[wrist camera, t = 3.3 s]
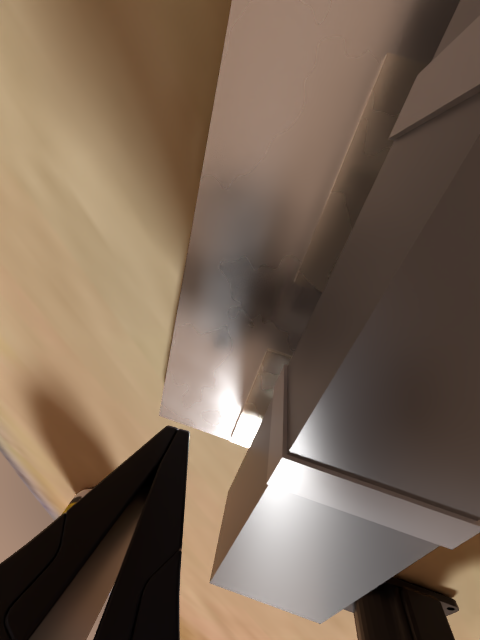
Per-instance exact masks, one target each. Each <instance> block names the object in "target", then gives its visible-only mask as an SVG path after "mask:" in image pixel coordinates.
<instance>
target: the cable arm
mask: <svg viewBox="0 0 480 640" xmlns="http://www.w3.org/2000/svg"><path fill="white" fill-rule="evenodd" d="M388 139H390V140H393V141H394V142H393V144H392V146H391V148H390V150H389V152H388V155H387V157H386V159H385V161H384V163H383V165H382V167H381V169H380V172H379V174H378V176H377V178H376V180H375V182H374V184H373V186H372V188H371V191H370V193H369V195H368V197H367V199H366V201H365V203H364V205H363V208H362V210H361V212H360V214H359V216H358V218H357V220H356V222H355V224H354V227H353V229H352V231H351V233H350V235H349V237H348V239H347V241H346V244H345V246H344V248H343V250H342V252H341V254H340V256H339V258H338V261H337V263H336V265H335V267H334V269H333V271H332V273H331V275H330V277H329V280H328V282H327V284H326V286H325V288H324V290H323V292H322V294H321V297H320V299H319V301H318V303H317V305H316V307H315V309H314V311H313V313H312V316H311V318H310V320H309V322H308V324H307V326H306V328H305V330H304V333H303V335H302V337H301V339H300V341H299V343H298V345H297V347H296V349H295V352H294V354H293V356H292V358H291V360H290V362H289V364H288V365H286V364H284V366H283V368H282V370H281V372H280V374H279V376H278V379H277V381H276V383H275V385H274V391H273V398H272V400H271V402H270V405H269V407H268V409H267V411H266V413H265V415H264V417H263V419H262V421H261V424H260V426H259V428H258V430H257V432H256V434H255V436H254V438H253V441H252V443H251V445H250V447H249V449H248V451H247V453H246V455H245V458H244V460H243V462H242V464H241V466H240V468H239V470H238V472H237V474H236V477H235V479H234V481H233V483H232V485H231V487H230V489H229V491H228V495H227V500H226V505H225V510H224V515H223V520H222V525H221V530H220V534H219V539H218V544H217V549H216V554H215V559H214V564H213V569H212V574H211V579H210V583H211V584H213V585H216V586H219V587H221V588H224V589H227V590H230V591H232V592H235V593H238V594H240V595H243V596H246V597H249V598H251V599H254V600H257V601H259V602H262V603H265V604H268V605H270V606H273V607H276V608H278V609H281V610H284V611H287V612H289V613H292V614H295V615H297V616H300V617H303V618H306V619H308V620H311V621H314V622H316V623H319V624H321V623H323V622H324V621H326V620H327V619H329V618H330V617H332V616H333V615H335V614H336V613H338V612H339V611H341V610H342V609H344V608H346V607H347V606H349V605H350V604H352V603H353V602H355V601H356V600H358V599H359V598H361V597H362V596H364V595H365V594H367V593H368V592H370V591H371V590H373V589H375V588H376V587H378V586H379V585H381V584H382V583H384V582H385V581H387V580H388V579H390V578H391V577H393V576H394V575H396V574H397V573H399V572H400V571H402V570H404V569H405V568H407V567H408V566H410V565H411V564H413V563H414V562H416V561H417V560H419V559H420V558H422V557H423V556H425V555H426V554H428V553H429V552H431V551H433V550H434V549H436V548H437V547H439V546H443V547H446V548H449V549H451V550H452V549H454V548H456V547H457V546H459V545H460V544H462V543H464V542H465V541H467V540H468V539H470V538H472V537H473V536H475V535H476V534H478V533H480V0H460V2H459V4H458V6H457V8H456V11H455V13H454V15H453V17H452V19H451V21H450V23H449V25H448V27H447V30H446V32H445V34H444V36H443V38H442V40H441V42H440V44H439V47H438V49H437V51H436V53H435V55H434V57H433V59H432V61H431V63H430V64H428V65H427V66H426V67H425V68H424V69H423V70H422V71H421V72H420V73H419V74H418V75H417V77H416V79H415V82H414V84H413V86H412V88H411V90H410V92H409V95H408V97H407V99H406V101H405V103H404V105H403V108H402V110H401V112H400V114H399V116H398V118H397V121H396V123H395V125H394V127H393V129H392V132H391V134H390V136H389V138H388Z"/></svg>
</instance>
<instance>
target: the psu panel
mask: <svg viewBox="0 0 480 640" xmlns="http://www.w3.org/2000/svg"><path fill="white" fill-rule="evenodd" d="M459 2H460V0H232V3H231V9H230V14H229V20H228V26H227V31H226V37H225V43H224V48H223V54H222V60H221V66H220V71H219V77H218V83H217V88H216V94H215V100H214V105H213V111H212V117H211V123H210V128H209V134H208V140H207V145H206V151H205V157H204V162H203V168H202V174H201V179H200V185H199V191H198V197H197V202H196V208H195V214H194V219H193V225H192V231H191V236H190V242H189V248H188V254H187V259H186V265H185V271H184V276H183V282H182V288H181V293H180V299H179V305H178V310H177V316H176V322H175V328H174V333H173V339H172V345H171V350H170V356H169V362H168V367H167V373H166V379H165V384H164V390H163V396H162V402H161V407H160V413H159V416H161V417H164V418H167V419H170V420H173V421H176V422H178V423H181V424H184V425H187V426H190V427H193V428H196V429H198V430H201V431H204V432H207V433H210V434H213V435H216V436H218V437H221V438H224V439H227V440H230V442H233V443H236V444H239V445H242V446H244V447H247V448H249V447H250V445H251V443H252V441H253V438H254V436H255V434H256V432H257V430H258V428H259V426H260V424H261V421H262V419H263V417H264V415H265V413H266V411H267V409H268V407H269V405H270V402H271V400H272V398H273V391H274V385H275V383H276V381H277V379H278V376H279V374H280V372H281V370H282V368H283V366H284V364H286V365H288V364H289V362H290V360H291V358H292V356H293V354H294V352H295V349H296V347H297V345H298V343H299V341H300V339H301V337H302V335H303V333H304V330H305V328H306V326H307V324H308V322H309V320H310V318H311V316H312V313H313V311H314V309H315V307H316V305H317V303H318V301H319V299H320V297H321V294H322V292H323V290H324V288H325V286H326V284H327V282H328V280H329V277H330V275H331V273H332V271H333V269H334V267H335V265H336V263H337V261H338V258H339V256H340V254H341V252H342V250H343V248H344V246H345V244H346V241H347V239H348V237H349V235H350V233H351V231H352V229H353V227H354V224H355V222H356V220H357V218H358V216H359V214H360V212H361V210H362V208H363V205H364V203H365V201H366V199H367V197H368V195H369V193H370V191H371V188H372V186H373V184H374V182H375V180H376V178H377V176H378V174H379V172H380V169H381V167H382V165H383V163H384V161H385V159H386V157H387V155H388V152H389V150H390V148H391V146H392V144H393V142H394V141H393V140H390V139H388V138H389V136H390V134H391V132H392V129H393V127H394V125H395V123H396V121H397V118H398V116H399V114H400V112H401V110H402V108H403V105H404V103H405V101H406V99H407V97H408V95H409V92H410V90H411V88H412V86H413V84H414V82H415V79H416V77H417V75H418V74H419V73H420V72H421V71H422V70H423V69H424V68H425V67H426V66H427V65H428V64H430V63H431V61H432V59H433V57H434V55H435V53H436V51H437V49H438V47H439V44H440V42H441V40H442V38H443V36H444V34H445V32H446V30H447V27H448V25H449V23H450V21H451V19H452V17H453V15H454V13H455V11H456V8H457V6H458V4H459Z"/></svg>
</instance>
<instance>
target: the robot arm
mask: <svg viewBox="0 0 480 640" xmlns="http://www.w3.org/2000/svg"><path fill="white" fill-rule="evenodd" d="M189 437H190V432H189V431H186V430H183V429H179V430H178V428H176V427H172V426H166V427H165V428H163V429H162V430H161V431H160V432H159V433H158V434H156V435H155V436H154V437H153V438H152V439H150V440H149V441H148V442H147V443H146V444H145V445H143V446H142V447H141V448H140V449H139V450H138V451H136V452H135V453H134V454H133V455H132V456H130V457H129V458H128V459H127V460H126V461H125V462H123V463H122V464H121V465H120V466H119V467H118V468H116V469H115V470H114V471H113V472H112V473H110V474H109V475H108V476H107V477H106V478H105V479H103V480H102V481H101V482H100V483H99V484H98V485H96V486H95V487H94V488H93V489H92V490H90V491H89V492H88V493H87V494H86V495H85V496H83V497H82V498H81V499H80V500H79V501H77V502H76V503H75V504H74V505H73V506H72V507H70V508H69V509H68V510H67V512H66V513H63V514H62V515H61V516H60V517H58V518H57V519H56V520H55V521H54V522H53V523H52V524H50V525H49V526H48V527H47V528H46V529H44V530H43V531H42V532H41V533H39V534H38V535H37V536H36V537H34V538H33V539H32V540H31V541H29V542H28V543H27V544H26V545H24V546H23V547H22V548H21V549H19V550H18V551H17V552H15V553H14V554H13V555H11V556H10V557H9V558H7V559H6V560H5V561H3V562H2V563H1V564H0V640H86V639H87V637H88V635H89V633H90V631H91V629H92V627H93V625H94V623H95V621H96V619H97V617H98V615H99V613H100V611H101V609H102V607H103V605H104V603H105V601H106V599H107V597H108V595H109V593H110V591H111V589H112V587H113V589H112V592H111V594H110V597H109V600H108V602H107V605H106V608H105V611H104V613H103V616H102V618H101V621H100V624H99V626H98V629H97V631H96V634H95V637H94V639H93V640H180V631H179V591H180V568H181V554H182V552H181V549H182V538H183V523H184V509H185V494H186V480H187V465H188V451H189ZM114 583H115V584H114ZM113 585H114V586H113ZM344 609H345V610H347V611H350V612H353V613H354V618H355V625H356V631H357V637H358V640H455V639H454V636H453V633H452V631H451V628H450V625H449V623H448V620H447V617H446V616H448V615H450V614H453V613H455V612H457V611H459V608H458V606H457V603H456V601H455V600H454V599H452V598H449V597H446V596H443V595H441V594H438V593H435V592H432V591H429V590H427V589H424V588H421V587H418V586H416V585H413V584H410V583H407V582H404V581H402V580H399V579H396V578H393V577H391V578H390V579H388V580H387V581H385V582H384V583H382V584H381V585H379V586H378V587H376V588H375V589H373V590H371V591H370V592H368V593H367V594H365V595H364V596H362V597H361V598H359V599H358V600H356V601H355V602H353V603H352V604H350V605H349V606H347V607H346V608H344Z"/></svg>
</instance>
